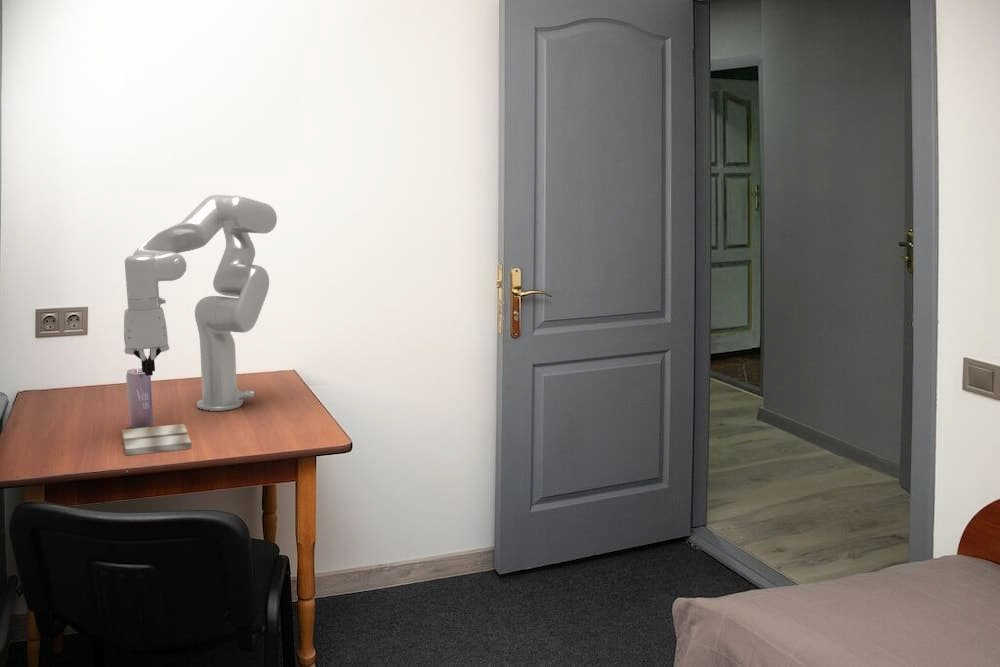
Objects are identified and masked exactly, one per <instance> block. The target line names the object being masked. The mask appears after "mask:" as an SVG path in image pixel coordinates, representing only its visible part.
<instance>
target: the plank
mask: <svg viewBox="0 0 1000 667" xmlns="http://www.w3.org/2000/svg"><path fill="white" fill-rule="evenodd" d="M121 432H122V434H121V435H122V442H123V443H124V441H127V440H137V439H147V438H157V437H167V436H177V435H186V434H188V430H187V428H186V426H185V423H180V424H179V423H177V424H169V425H159V426H157V425H156V426H150V427H146V428H128V429H127V428H125V429H121Z"/></svg>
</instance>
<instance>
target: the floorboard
mask: <svg viewBox="0 0 1000 667" xmlns="http://www.w3.org/2000/svg"><path fill="white" fill-rule="evenodd" d="M190 438H191V437H190V436H189V433H187V434H186V435H177V436H167V437H157V438H147V439H137V440H127V441H124V442H123V447H124V453H125V456H134V455H144V454H145V455H146V454H154V453H162V452H171V451H182V450H190V449H192V441H191V439H190Z"/></svg>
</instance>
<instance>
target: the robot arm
mask: <svg viewBox="0 0 1000 667" xmlns="http://www.w3.org/2000/svg"><path fill="white" fill-rule="evenodd" d="M276 212H277V211H275V209H274V208H273V206H271V205H270V204H268V203H266V202H262V201H259V200H255V199H252V198H250V197H249V198H248V197H245V196H240V195H225V194H222V195H220V194H215V195H214V194H213V195H210V196H207V197H206V198H204V199H203V201H202V202H201V203H200V204H199V205H197V206H196V207H195V209H194V210H192V211H191V212H190V213H189V214H188V215H187V216H186V217H185V218H184V219H183V220H182V221H181V222H179V223H177V224H174V225H173V226H170V227H168V228H165V229H163V230H161V231H159V232H157V233H156V234H153V235H152V236H149V238H148V239H146V240H144V242H142V244H140V246H139V247H137V249H136V250H135V251H134V252H133V254H132V255H128V256H127V257H126V258H125V259H124V269H125V270H124V271H125V283H126V284H125V287H126V298H127V300H126V301H127V309H125V310H124V316H123V336H124V337H123V338H124V339H123V340H124V345H125V346H124V353H125V355H134V356H135V357H137V358H138V359H139V360H141V368H142V372H145V375H146V376H148V375H151V376H154V374H153V373H154V372H156V366H155V360H156V359H157V357H158V356H159V355H160V354H161V353H164V352H167V351H169V350H170V345H169V342H168V341H169V340H168V339H169V337H168V329H167V322H166V316H165V312H164V308H163V307H161V305H164V304H166V303H167V302H166V298H165V297H164V298H163V297H160V289H159V288H160V287H159V282H166V281H167V282H171V281H177V280H178V279H181V278H182V277H183V276H184V275H185V274H186V271H187V266H188V265H187V261H186V259H185V258H184V257H183V256H182V255H181V254H180V253H185V252H190V251H194V250H198V249H201V248H203V247H205V246H206V245H207V244H208V243H209V242H210V241H211V240H212V239H213V237H214V236H216V234H217V233H218V232H219V231H221V229H222V230H223V234H224V238H225V248H224V252H223V254H222V256H221V259H220V262H219V264H218V266H217V269H216V272H215V275H214V277H213V279H212V280H213V281H212V286H213V289H214V290H215V292H216V293H218V294H220V295H219V296H218V295H209V296H208V295H207V296H204V297H203V298H200V299H199V301H198V302H197V303H196V305H195V308H194V318H195V322H196V326H197V331H198V337H199V349H200V370H201V392H202V395H201V396H202V399H199V400H198V401H197V402H196V407H197V408H198V409H199V408H200V409H199V410H202V409H203V411H208V410H209V412H210V411H211V412H219V411H220V412H221V411H230V410H234V409H237V408H240V407H241V405H242V406H243V404H244V403H243V402H244V401H243V399H244V398H247V399H249V398H254V397H255V392H254V390H248V389H246V390H245V389H244V390H240V389H239V388H238V385H237V364H236V362H237V360H236V343H235V339H234V337H233V334H232V333H243V334H244V333H248V332H250V331H251V330H252V329H253V328H254V327H255V325H256V324H257V322H258V319H259V315H260V313H261V311H262V308H263V306H264V304H265V300H266V298H267V294H268V292H269V288H270V277H269V276H270V275H269V274H268V272H267V270H266V269H265V268H264V267H262V266H261V265H257V264H253V263H254V260H255V257H256V249H255V246H254V243H253V241H252V239H251V237H250V235H249V233H250V234H269V233H271V232H272V231H273V230H274V229H275V227H276V225H277V223H278V222H277V219H278V216H277V213H276ZM221 295H222V296H221ZM231 332H232V333H231ZM148 349H149V354H148V356H146V353H145V350H148ZM147 357H148V358H147Z"/></svg>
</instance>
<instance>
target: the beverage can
mask: <svg viewBox="0 0 1000 667" xmlns="http://www.w3.org/2000/svg"><path fill="white" fill-rule="evenodd" d="M151 376H152V375H148V376H146V375H145V372H142V367H141V368H140V367H139V368H138V367H137V368H131V369H128V370H127V371H126V395H127V396H126V397H127V409H128V410H127V411H128V425H129V426H130V427H131V429H135V428H146V427H152V426H153V424H154V413H153V395H152V377H151Z"/></svg>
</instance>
